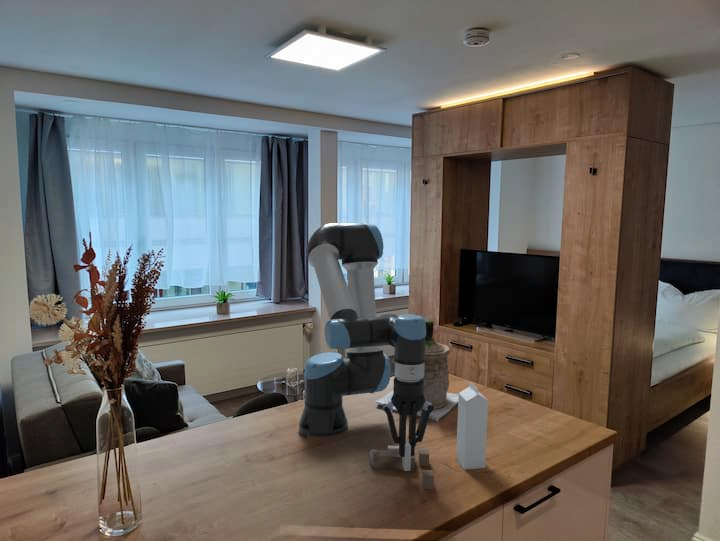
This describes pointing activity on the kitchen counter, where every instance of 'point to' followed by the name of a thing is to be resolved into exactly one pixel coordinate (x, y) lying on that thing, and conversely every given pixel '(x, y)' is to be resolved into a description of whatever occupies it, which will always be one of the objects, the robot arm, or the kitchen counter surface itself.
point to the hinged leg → (388, 460)
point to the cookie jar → (433, 378)
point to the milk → (472, 428)
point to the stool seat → (423, 461)
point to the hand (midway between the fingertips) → (406, 467)
